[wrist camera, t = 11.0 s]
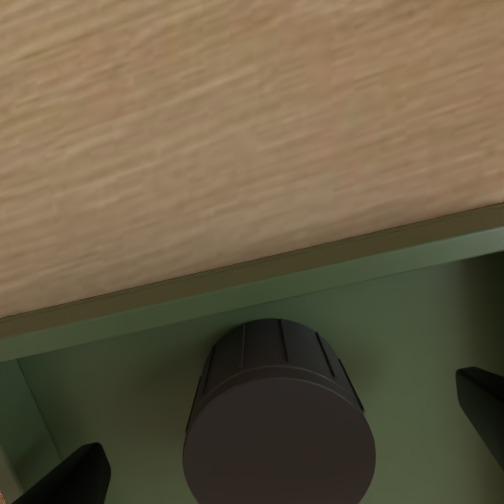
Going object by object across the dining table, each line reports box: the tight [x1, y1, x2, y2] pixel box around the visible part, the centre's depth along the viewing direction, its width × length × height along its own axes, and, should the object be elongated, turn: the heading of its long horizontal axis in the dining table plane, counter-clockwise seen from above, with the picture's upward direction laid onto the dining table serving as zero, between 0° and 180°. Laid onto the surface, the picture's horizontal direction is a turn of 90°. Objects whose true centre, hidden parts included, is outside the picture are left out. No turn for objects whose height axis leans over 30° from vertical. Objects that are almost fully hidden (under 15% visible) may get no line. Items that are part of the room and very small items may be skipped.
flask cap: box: [182, 318, 376, 504], centre depth 8 cm, size 4×4×3 cm
